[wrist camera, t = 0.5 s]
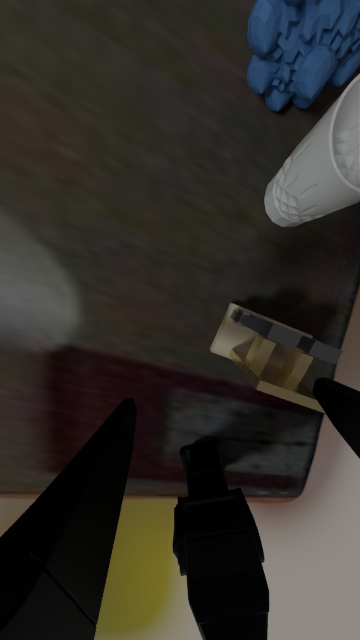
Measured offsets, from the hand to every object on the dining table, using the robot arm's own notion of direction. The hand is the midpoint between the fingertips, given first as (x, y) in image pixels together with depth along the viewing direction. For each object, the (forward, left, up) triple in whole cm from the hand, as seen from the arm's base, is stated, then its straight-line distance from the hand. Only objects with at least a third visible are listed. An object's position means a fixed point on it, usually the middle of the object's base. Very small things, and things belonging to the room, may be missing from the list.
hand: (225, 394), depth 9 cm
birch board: (-5, -9, -16) cm, 20 cm away
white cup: (+13, -16, -17) cm, 26 cm away
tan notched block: (-6, -9, -15) cm, 18 cm away
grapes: (+22, -15, -17) cm, 31 cm away
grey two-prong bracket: (-3, -11, -16) cm, 20 cm away
